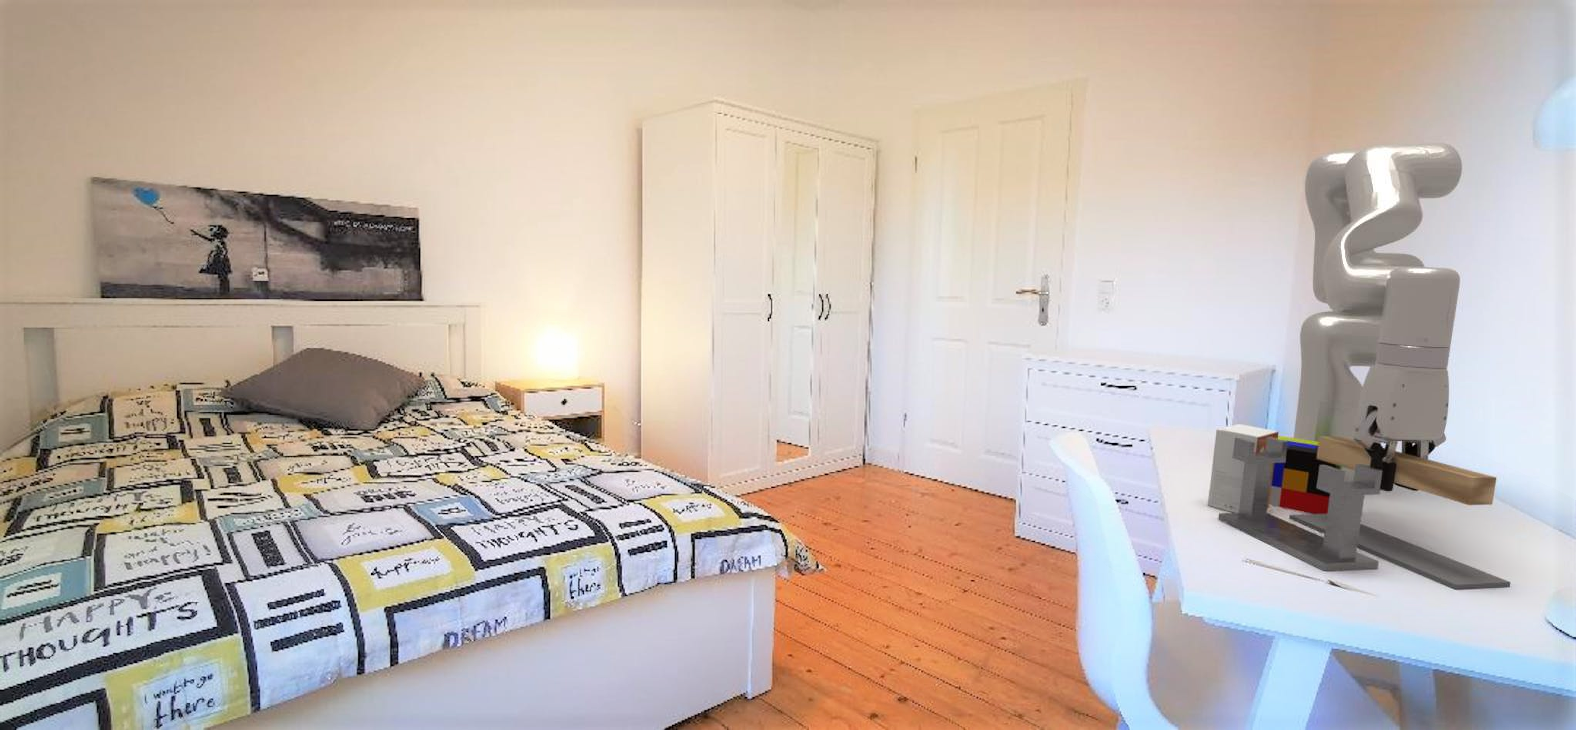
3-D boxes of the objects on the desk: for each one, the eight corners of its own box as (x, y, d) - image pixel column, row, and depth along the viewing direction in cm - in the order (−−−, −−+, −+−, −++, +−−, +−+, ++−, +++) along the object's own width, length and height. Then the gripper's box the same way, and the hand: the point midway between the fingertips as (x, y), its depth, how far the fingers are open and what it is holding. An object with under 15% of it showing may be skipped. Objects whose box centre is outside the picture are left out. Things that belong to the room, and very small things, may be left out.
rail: (1336, 458, 112) (1339, 436, 112) (1492, 504, 91) (1496, 477, 90) (1316, 458, 112) (1319, 436, 111) (1468, 505, 90) (1472, 477, 90)
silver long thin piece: (1426, 609, 83) (1236, 558, 96) (1425, 618, 83) (1236, 566, 96) (1429, 599, 86) (1245, 551, 99) (1428, 607, 86) (1244, 558, 99)
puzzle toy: (1255, 502, 122) (1262, 444, 121) (1267, 489, 129) (1274, 435, 128) (1328, 517, 115) (1337, 456, 114) (1337, 503, 123) (1345, 445, 121)
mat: (1333, 517, 115) (1334, 513, 115) (1509, 586, 91) (1510, 582, 91) (1289, 518, 114) (1289, 514, 114) (1455, 589, 90) (1455, 584, 90)
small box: (1248, 517, 114) (1258, 436, 113) (1206, 505, 119) (1215, 428, 118) (1270, 508, 119) (1279, 430, 117) (1228, 497, 124) (1237, 423, 122)
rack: (1264, 518, 114) (1274, 436, 112) (1377, 568, 96) (1391, 471, 94) (1218, 519, 113) (1227, 436, 111) (1324, 571, 94) (1337, 472, 92)
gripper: (1435, 355, 104) (1417, 479, 106) (1334, 354, 102) (1317, 481, 104) (1492, 362, 97) (1471, 495, 99) (1385, 361, 94) (1366, 497, 97)
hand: (1393, 486), depth 102 cm, fingers closed on rail, 3 cm apart
